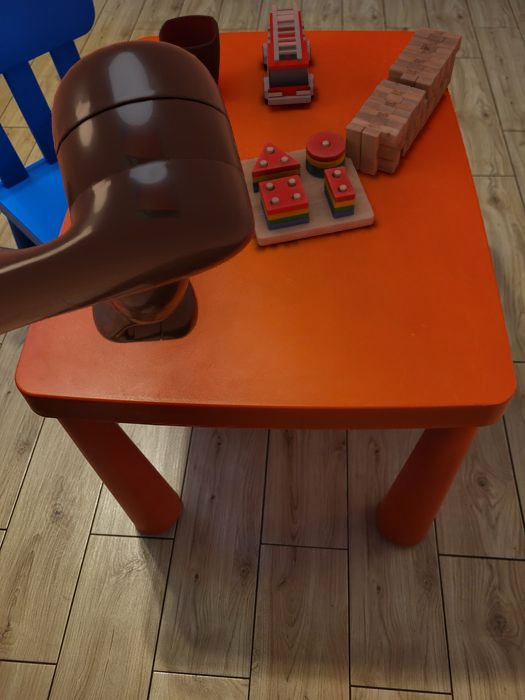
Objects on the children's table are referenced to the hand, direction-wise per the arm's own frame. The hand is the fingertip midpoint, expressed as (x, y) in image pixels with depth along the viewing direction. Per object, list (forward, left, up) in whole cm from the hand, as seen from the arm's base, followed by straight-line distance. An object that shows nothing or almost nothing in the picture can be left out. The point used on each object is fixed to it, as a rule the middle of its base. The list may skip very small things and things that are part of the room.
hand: (127, 109), depth 81 cm
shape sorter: (+22, -8, -17) cm, 29 cm away
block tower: (+44, +2, -18) cm, 47 cm away
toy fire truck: (+31, +21, -18) cm, 41 cm away
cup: (+14, +22, -18) cm, 32 cm away
